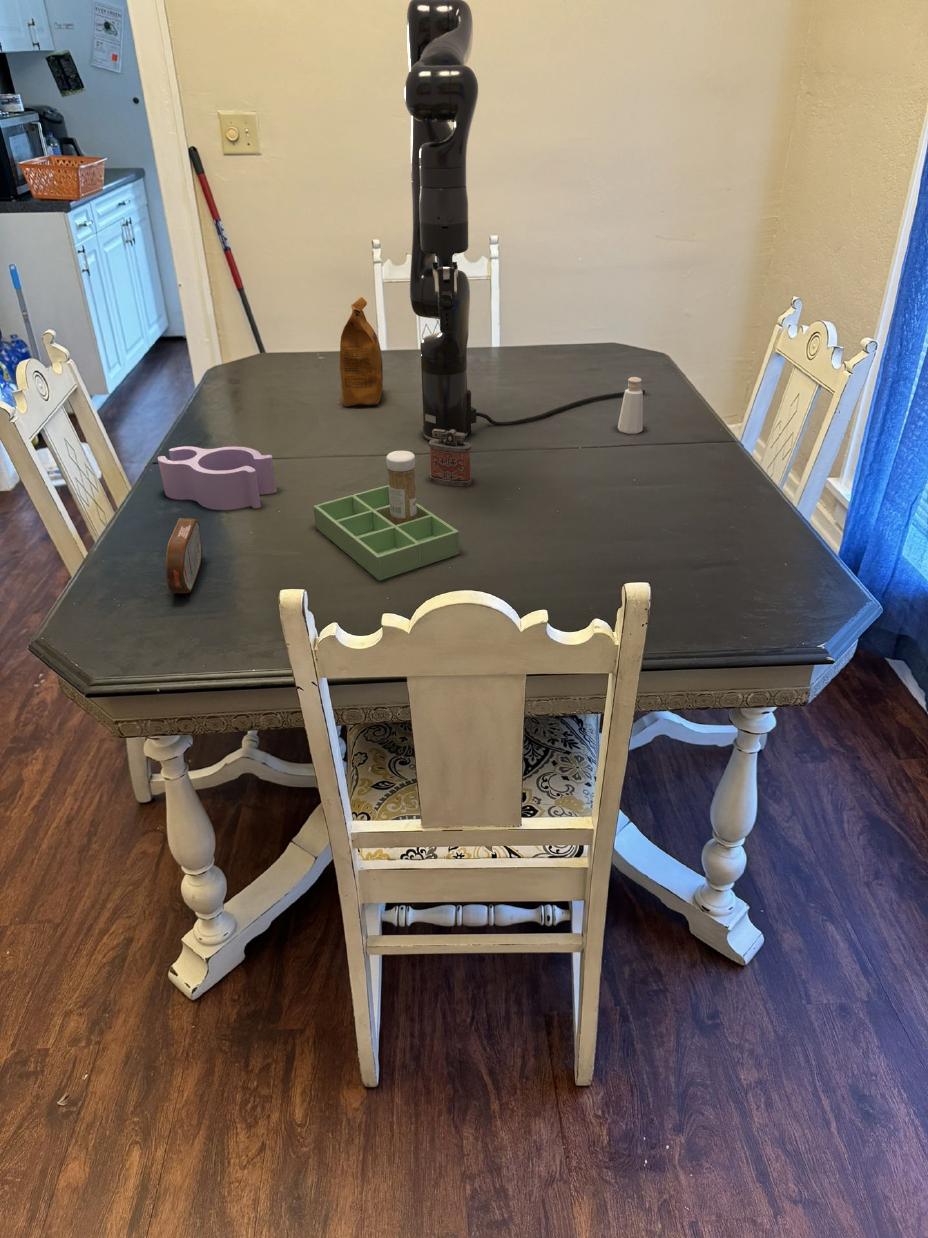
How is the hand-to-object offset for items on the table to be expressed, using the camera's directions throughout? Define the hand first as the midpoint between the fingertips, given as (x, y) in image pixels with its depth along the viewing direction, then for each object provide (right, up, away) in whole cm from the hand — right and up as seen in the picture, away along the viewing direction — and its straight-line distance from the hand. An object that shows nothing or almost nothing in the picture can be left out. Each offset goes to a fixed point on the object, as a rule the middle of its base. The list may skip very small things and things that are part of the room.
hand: (446, 325), depth 143 cm
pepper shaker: (+38, -8, +42) cm, 58 cm away
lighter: (0, -23, +21) cm, 31 cm away
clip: (-42, -26, +17) cm, 52 cm away
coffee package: (-20, +3, +60) cm, 63 cm away
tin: (-39, -42, -9) cm, 59 cm away
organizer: (-10, -35, +1) cm, 37 cm away
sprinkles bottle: (-7, -34, +2) cm, 35 cm away
